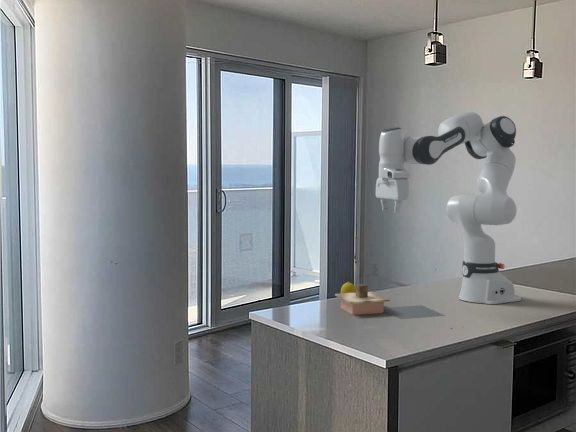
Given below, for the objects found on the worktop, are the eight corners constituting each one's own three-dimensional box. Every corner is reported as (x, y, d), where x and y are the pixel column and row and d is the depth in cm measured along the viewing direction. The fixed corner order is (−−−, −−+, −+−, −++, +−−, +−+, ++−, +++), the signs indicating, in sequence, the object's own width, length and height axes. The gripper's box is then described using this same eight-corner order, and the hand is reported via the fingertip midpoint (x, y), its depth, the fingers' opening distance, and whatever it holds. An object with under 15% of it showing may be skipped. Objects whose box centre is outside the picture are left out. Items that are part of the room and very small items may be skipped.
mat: (421, 308, 219) (421, 305, 219) (445, 318, 203) (445, 315, 203) (379, 310, 214) (379, 308, 214) (400, 322, 199) (400, 318, 199)
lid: (372, 293, 220) (372, 280, 219) (389, 301, 206) (389, 287, 206) (335, 295, 216) (335, 282, 216) (349, 303, 202) (350, 289, 202)
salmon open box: (370, 308, 218) (370, 294, 218) (383, 315, 208) (383, 300, 207) (340, 310, 215) (340, 296, 215) (352, 317, 205) (352, 302, 204)
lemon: (355, 305, 223) (355, 283, 222) (339, 304, 224) (339, 282, 223) (356, 302, 228) (356, 280, 228) (341, 301, 229) (341, 280, 229)
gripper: (371, 173, 233) (371, 210, 234) (395, 173, 213) (394, 213, 214) (387, 173, 235) (386, 209, 236) (412, 173, 215) (411, 213, 216)
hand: (390, 211), depth 225 cm, fingers open, 8 cm apart
